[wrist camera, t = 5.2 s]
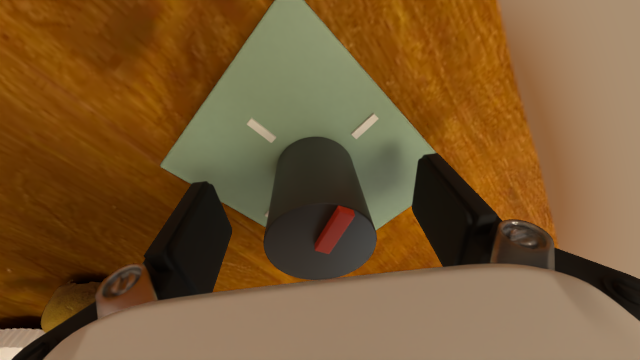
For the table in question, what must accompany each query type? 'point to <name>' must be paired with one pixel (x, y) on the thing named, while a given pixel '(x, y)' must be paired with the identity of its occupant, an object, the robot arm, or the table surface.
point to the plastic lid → (16, 341)
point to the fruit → (67, 303)
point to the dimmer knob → (318, 213)
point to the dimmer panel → (297, 118)
